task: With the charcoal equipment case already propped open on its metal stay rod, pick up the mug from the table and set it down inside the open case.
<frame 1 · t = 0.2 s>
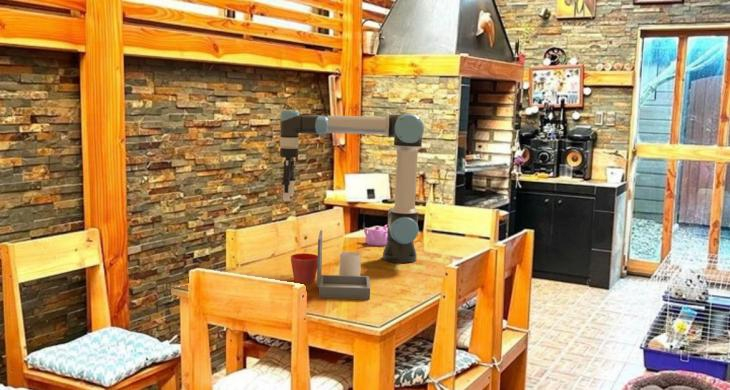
hand: (288, 198, 294), 28 cm above the table, fingers open, 13 cm apart
case: (344, 292, 256), on the table
pink toy pig: (376, 244, 344), on the table
flower pot: (304, 281, 270), on the table
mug: (350, 278, 277), on the table
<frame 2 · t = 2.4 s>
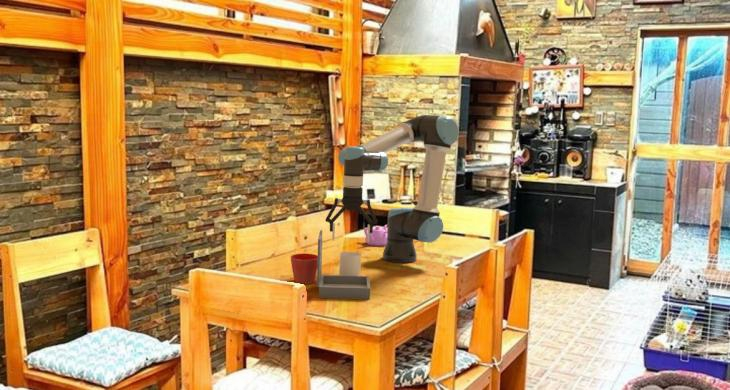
hand: (350, 240, 274), 15 cm above the table, fingers open, 13 cm apart
nothing on the table moved.
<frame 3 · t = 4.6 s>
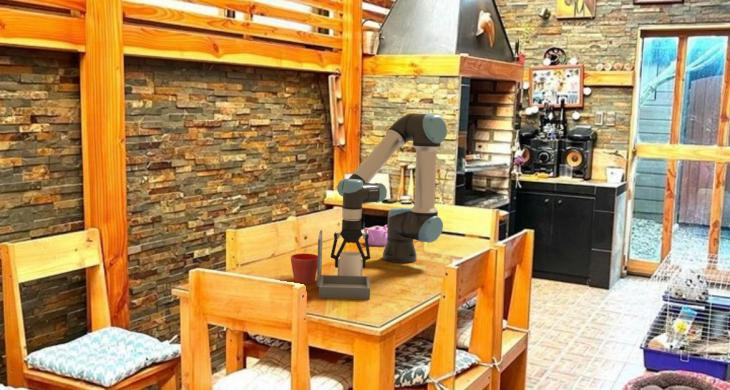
hand: (349, 276, 277), 1 cm above the table, fingers closed on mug, 8 cm apart
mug: (350, 278, 277), on the table, touching gripper
everything else where it was.
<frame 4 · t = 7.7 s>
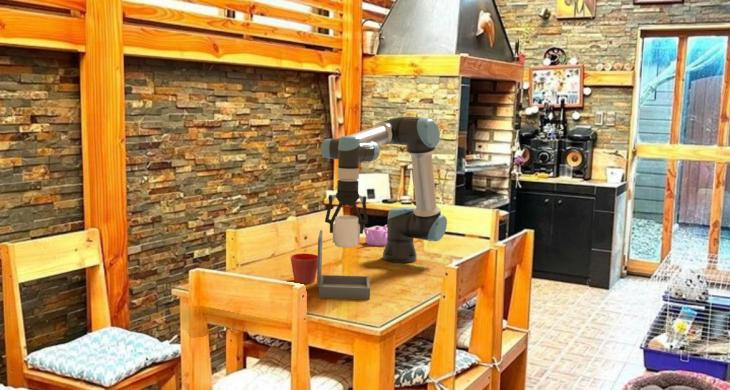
hand: (346, 242, 254), 19 cm above the table, fingers closed on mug, 8 cm apart
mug: (346, 245, 254), point 18 cm above the table, touching gripper
everything else where it was.
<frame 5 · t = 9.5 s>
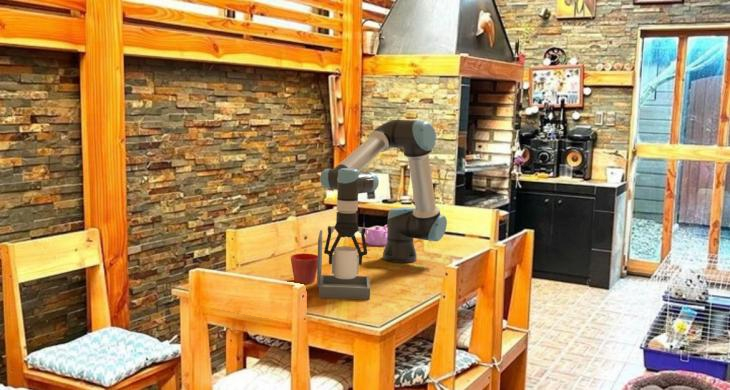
hand: (345, 273, 255), 7 cm above the table, fingers closed on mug, 8 cm apart
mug: (345, 276, 255), point 6 cm above the table, touching gripper
everything else where it was.
when the fingers open (4 cm above the table, at t = 11.1 s): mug drops 2 cm, resting on case.
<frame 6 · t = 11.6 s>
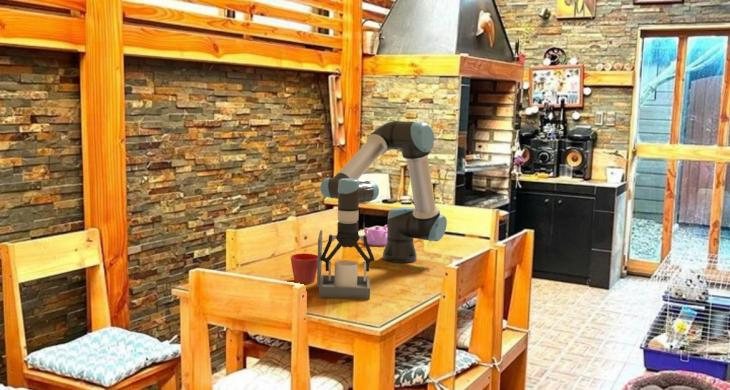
hand: (347, 280, 256), 5 cm above the table, fingers open, 12 cm apart
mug: (345, 289, 256), point 1 cm above the table, touching case
everything else where it was.
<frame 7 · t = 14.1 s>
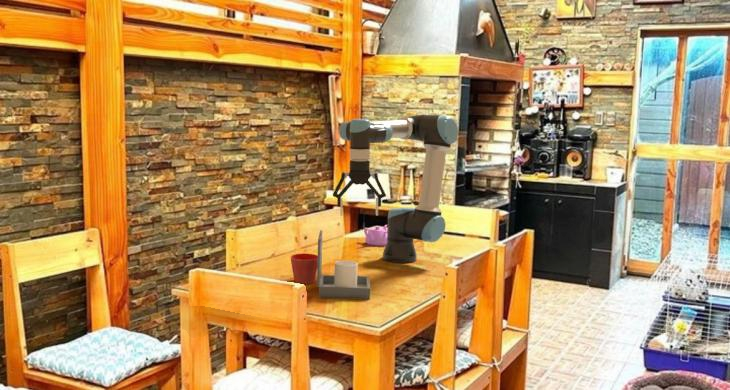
hand: (359, 215, 270), 26 cm above the table, fingers open, 13 cm apart
nothing on the table moved.
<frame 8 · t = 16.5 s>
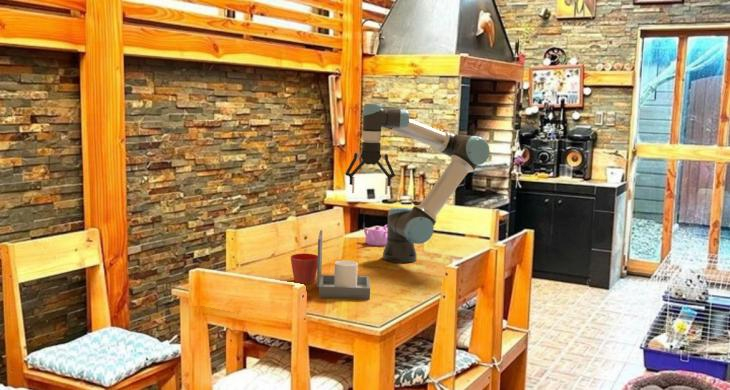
hand: (369, 193, 288), 32 cm above the table, fingers open, 13 cm apart
nothing on the table moved.
at the end: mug inside the target area on the case (0.5 cm from its centre), point 0.8 cm above the case's base; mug tilted 0°; the gripper is holding nothing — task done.
